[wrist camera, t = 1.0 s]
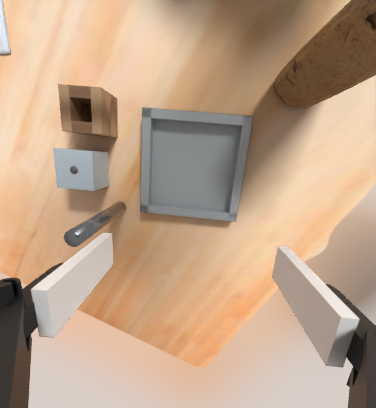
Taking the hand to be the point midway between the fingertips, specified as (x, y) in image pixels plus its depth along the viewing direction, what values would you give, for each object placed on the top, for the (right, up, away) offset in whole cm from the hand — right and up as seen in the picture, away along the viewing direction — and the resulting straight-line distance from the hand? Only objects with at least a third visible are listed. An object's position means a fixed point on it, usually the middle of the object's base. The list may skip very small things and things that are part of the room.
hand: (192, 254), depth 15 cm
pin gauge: (-15, +3, +26) cm, 30 cm away
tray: (+1, +11, +23) cm, 26 cm away
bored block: (-18, +21, +22) cm, 35 cm away
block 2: (+20, +26, +18) cm, 38 cm away
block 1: (-20, +12, +25) cm, 34 cm away
